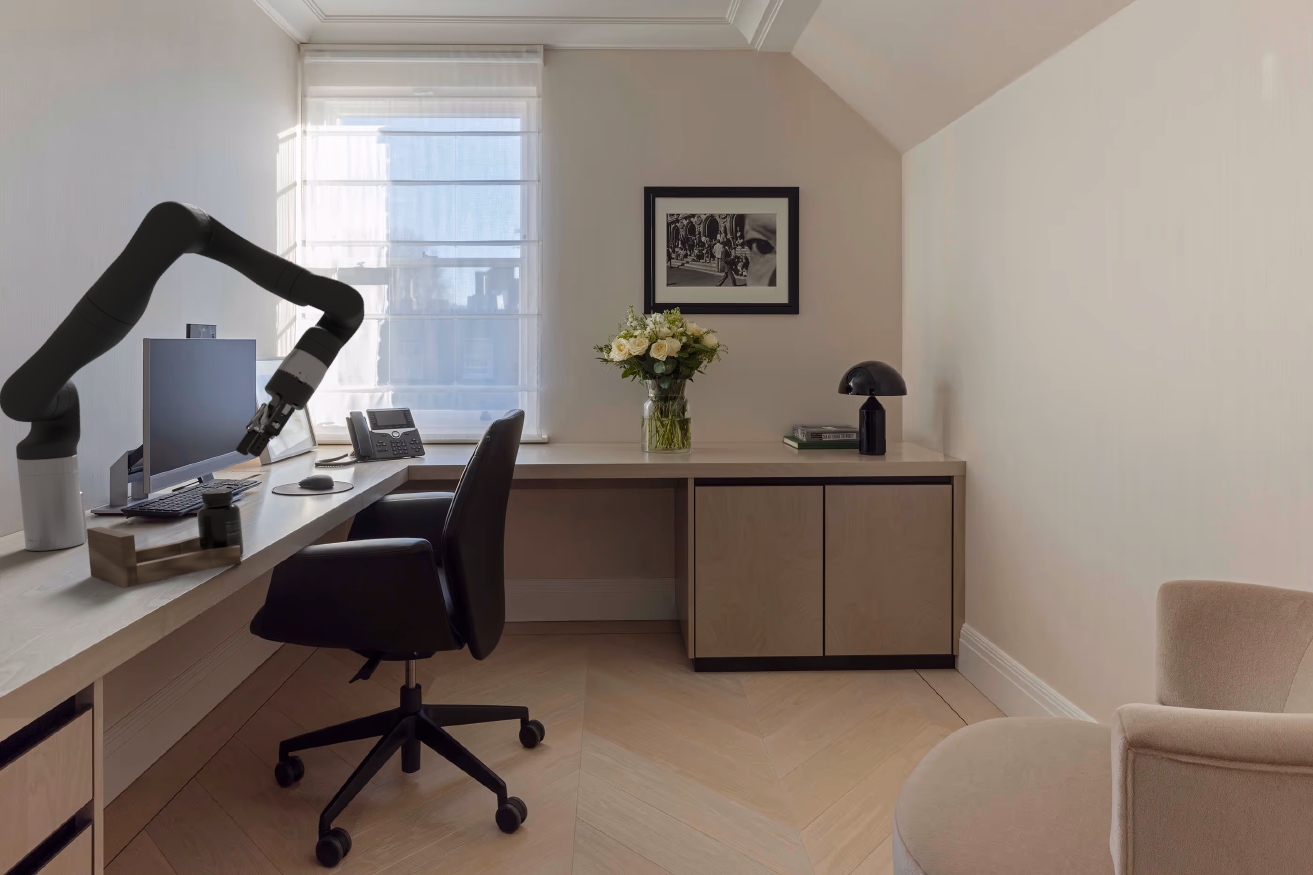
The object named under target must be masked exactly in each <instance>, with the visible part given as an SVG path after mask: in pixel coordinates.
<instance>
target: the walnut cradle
mask: <svg viewBox="0 0 1313 875" xmlns="http://www.w3.org/2000/svg"><path fill="white" fill-rule="evenodd" d="M86 529H87V544H88V545H87V546H88V548H87V549H88V557H89V567H90V569H89V570H90V577H92V578H94V579H98V580H101V581H104V582H107V583H110V584H113V585H117V586H119V587H122V588H128V587H133V586H137V585H141V584H147V583H151V582H155V581H159V580H164V579H168V578H172V577H176V576H182V575H186V574H190V573H196V572H199V571H204V570H205V571H206V570H209V569H212V568H213V569H214V568H221V567H227V566H234V565H240V564H242V558H241V557H242V555H241V553H240V546H239V545H238V546H230V547H223V548H215V549H207V550H201V551H200V540H199V535H198V536H192V537H189V538H185V539H181V540H177V541H174V542H168V543H164V544H159V545H153V546H148V547H143V548H137V549H136V541H135V534H132V533H127V532H124V531H121V530H120V531H119V530H116V529H112V528H109V527H104V526H95V527H89V528H86Z"/></svg>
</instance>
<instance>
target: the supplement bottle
mask: <svg viewBox="0 0 1313 875" xmlns="http://www.w3.org/2000/svg"><path fill="white" fill-rule="evenodd" d="M201 498H202V500H201V503H202V504H203V506H202V507H201V508H199V510H197V514H196V515H197V517H196V518H197V529H198V536H199V540H200V551H201V550H207V549H215V548H223V547H230V546H238V545H239V546H240V553H241V556H243V554H244V540H243V528H242V527H243V526H242V517H241V516H242V515H241V509H240V507H239V505H237V504H235V503H233V501H234V496H233V490H232V489H229V488H227V489H226V488H225V489H223V488H222V489H213V490H211V489H210V490H206V491H203V492H201Z"/></svg>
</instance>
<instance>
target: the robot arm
mask: <svg viewBox="0 0 1313 875" xmlns="http://www.w3.org/2000/svg"><path fill="white" fill-rule="evenodd" d="M185 254H188V255H189V254H195V255H199V256H201V257H205V258H208V259H211V260H214V261H217V262H219V263H220V264H224V265H225V266H227V267H230V268H232V269H233V270H235V271H237V272H238V273H240V274H241V275H243V276H244V277H245V278H247V279H249V280H250V281H251V282H253V283H254V284H256V285H257V286H259V287H260V288H262V289H264V290H265V291H267V292H270V293H272V294H273V295H275V296H277V297H279V298H281V299H283V300H285V301H286V302H287V301H288V302H290V303H291V304H293V305H295V306H298V307H303V308H304V307H308V306H310V307H312V308H314V309H317V310H319V311H321V312H323V314H322V315H321V317H320V318H319V320H318V321H317V322H316V324H315V325H314V326H310V327H309V328H307V329H306V330H305V332H304V333H303V334H302V335H301V336H300V338H298V341H297V342H296V344H295V345H294V346H293V348H292V350H291V351H290V352H289V353H288V354H287V355H286V356H285V357H284V358H283V360H282V362H281V363H280V365H279V366H278V367H277V368H276V370H275V372H274V373H273V375H272V376H271V377H270V379H269V380H268V382H267V383H266V384H265V386H264V391H265V393H267V395H269V396H270V397H271V400H269V401H268V403H266V402H263V403H261V405H260V407H259V408H258V410H257V411H256V413H255V414H254V416H253V417H252V418H251V419H250V421H249V422H248V424H247V425H246V426H245V434H244V436H243V437H242V439H241V440H240V441H239V442H238V445H237V446H236V447H235V451H236V452H237V453H239V454H240V455H242V456H248V455H249V454H250V455H251V456H253V457H256V458H258V457H260V456H261V455H262V453H263V452H264V450H265V449H266V447H267V446H268V445H269V443H270V442H271V440H274V439H275V437H276V438H277V437H278V436H280V434H281V432H282V430H283V429H284V427H285V426H286V424H287V423H288V421H289V420H290V418H291V416H292V415H293V413H295V410H296V411H302V410H304V409H305V407H306V406H307V404H308V403H309V401H310V400H311V398H312V397H313V395H314V394H315V392H316V390H317V388H318V387H319V385H320V384H321V383H322V382H323V379H324V377H325V375H326V373H327V371H328V370H329V369H330V367H331V365H332V364H333V362H334V360H335V359H336V358H337V356H338V354H339V353H340V351H341V349H342V348H343V347H344V346H345V345H346V344H347V343H348V342H349V341H350V340H351V339H352V337H354V336H355V334H356V332H357V331H358V330H359V328H360V327H361V325H362V323H363V321H364V318H365V300H364V298H363V296H362V294H361V293H360V292H359V291H358V290H357V289H356V288H354V287H353V286H351V285H350V284H348V283H345V282H344V281H341V280H338V279H335V278H331V277H328V276H326V275H322V274H318V273H315V272H313V271H311V270H310V269H307V268H305V267H304V266H301V265H299V264H298V263H297V262H293V261H292V260H289V259H287V258H285V257H283V256H281V255H279V254H277V253H275V252H273V251H271V250H268V249H266V248H264V247H262V246H260V245H258V244H256V243H255V242H252V241H250V240H249V239H247V238H246V237H244V236H242V235H240V234H239V233H237V232H235V231H234V230H232V229H231V228H229V227H228V226H226V225H225V224H223V223H222V222H221V221H219V220H218V219H216V217H215V218H214V216H212V215H211V214H209V213H208V212H206V211H205V210H204V209H202V208H201V207H200V206H198V205H195V204H192V203H189V202H184V201H183V202H182V201H176V200H174V201H173V200H169V201H167V200H166V201H163V202H160V203H158V204H155V205H154V206H153V207H152V208H151V209H150V210H149V211H148V212H147V213H146V215H145V216H144V218H143V219H142V221H141V223H140V224H139V225H138V227H137V228H136V230H135V232H134V234H133V235H132V237H131V238H130V240H129V242H128V243H127V245H125V247H124V249H123V250H122V252H121V253H120V254H119V255H118V256H117V257H116V259H115V260H114V261H113V262H112V263H111V264H110V265H109V266H108V267H107V268H106V270H105V271H104V272H103V273H102V274H101V275H100V277H99V278H98V279H97V280H96V281H95V282H94V283H93V284H92V285H91V286H90V288H88V290H87V291H86V292H85V293H84V295H82V297H81V298H80V299H79V300H78V302H77V303H76V304H75V305H74V307H73V308H72V310H70V312H69V314H68V315H67V316H66V317H65V318H64V320H63V321H62V322H60V324H59V325H58V327H57V328H55V330H54V331H53V332H52V333H51V335H50V336H49V337H48V338H47V339H46V341H45V342H44V343H43V344H42V345H41V346H40V348H38V350H37V351H35V352H34V354H32V356H31V357H29V358H28V359H27V360H26V361H25V362H24V363H23V364H22V365H20V367H19V368H17V369H16V370H15V371H14V372H12V374H11V375H10V376H9V377H8V378H7V379H6V381H5V382H4V383H3V385H2V387H1V389H0V409H1V411H2V412H3V414H4V415H5V416H6V417H8V418H9V419H11V420H12V421H13V420H14V421H15V422H21V423H30V430H29V431H28V434H27V436H25V437H24V438H23V439H22V440H21V441H19V442H18V443H17V445H16V447H15V448H16V449H15V452H16V458H17V459H16V463H17V472H18V483H19V484H18V485H19V493H20V505H21V514H22V522H23V523H22V524H23V536H24V544H25V546H24V547H25V550H26V551H31V552H33V551H41V552H42V551H44V552H45V551H52V550H53V551H54V550H59V549H61V550H62V549H67V548H72V547H73V548H74V547H76V546H80V545H82V544H84V543H85V542H86V540H87V541H88V537H87V529H88V528H87V519H86V509H85V498H84V497H85V496H84V493H83V492H82V491H81V482H80V480H81V479H80V471H79V470H80V469H79V460H78V451H77V450H78V445H79V442H80V439H81V431H82V430H81V406H80V405H81V404H80V396H79V391H78V389H77V387H76V384H75V383H74V381H73V380H72V377H73V376H74V375H75V374H76V373H77V372H78V371H80V370H81V369H82V368H84V367H85V366H87V365H89V363H91V362H93V361H95V360H96V359H98V358H99V357H101V356H102V355H104V354H106V353H107V352H109V351H110V350H111V349H113V348H115V347H116V346H117V345H118V344H119V343H120V342H122V340H124V339H125V337H126V336H128V334H129V333H130V332H131V331H132V330H133V328H134V327H135V326H136V325H137V323H138V322H139V321H140V319H141V318H142V317H143V315H144V313H145V312H146V310H147V308H148V305H149V303H150V300H151V298H152V294H153V291H154V290H155V287H156V284H157V283H158V281H159V279H161V277H162V276H163V275H164V273H166V272H167V270H168V269H169V268H170V267H171V266H172V265H173V264H174V263H175V262H176V261H177V260H178V259H180V257H181V256H183V255H185Z"/></svg>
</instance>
